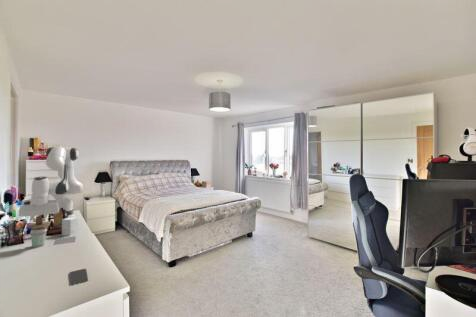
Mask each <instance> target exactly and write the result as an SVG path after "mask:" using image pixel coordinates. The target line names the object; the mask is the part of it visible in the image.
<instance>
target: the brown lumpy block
mask: <svg viewBox="0 0 476 317" xmlns="http://www.w3.org/2000/svg"><path fill="white" fill-rule="evenodd" d="M65 211H66V210H65V209H63V208H61V209H60V210H59V212H58V213H57V214H48V216H47V220H48V221H47V222H49V221H51V223H50V225H49V226H48V227H47V228H46V229H47V231H46V235H50V236H53V235H55V234H56V235H57V234H62V227H61V226H62V220H63V219H65V217H66V216H65Z"/></svg>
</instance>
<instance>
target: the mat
mask: <svg viewBox="0 0 476 317" xmlns="http://www.w3.org/2000/svg"><path fill="white" fill-rule="evenodd" d="M75 242H76V236H75V235H74V236H67V237H62V238H56V239H54V242H53V246H56V245H63V244H70V243H75Z"/></svg>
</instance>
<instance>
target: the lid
mask: <svg viewBox="0 0 476 317" xmlns="http://www.w3.org/2000/svg"><path fill="white" fill-rule="evenodd" d="M35 219H36V222H32V223H29V224H28V225H27V226H26V228H25V230H29V229H34V228H39V227H46V228H48V226H49V225H50V223H51V220H50V221H49V222H48V221H42V219H43V215H37V216H35Z"/></svg>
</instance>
